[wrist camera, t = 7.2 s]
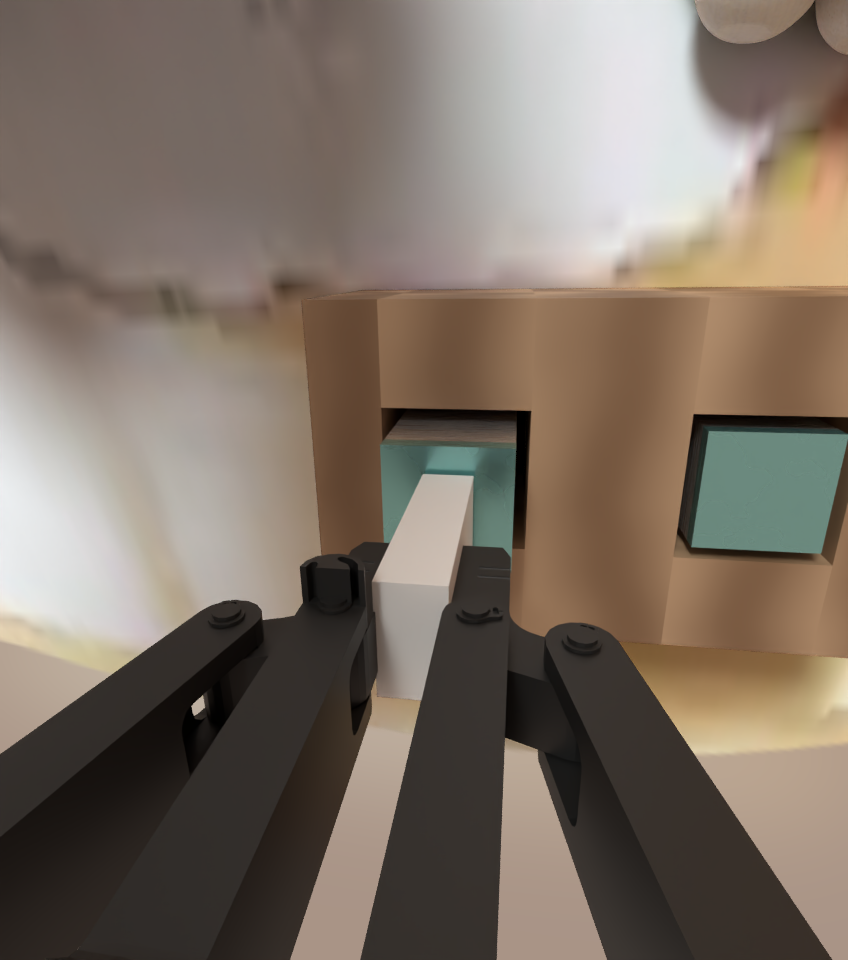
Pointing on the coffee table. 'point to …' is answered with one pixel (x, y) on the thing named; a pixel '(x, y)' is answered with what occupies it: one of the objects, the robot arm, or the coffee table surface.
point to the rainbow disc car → (772, 19)
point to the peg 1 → (454, 465)
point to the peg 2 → (760, 482)
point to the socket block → (597, 442)
